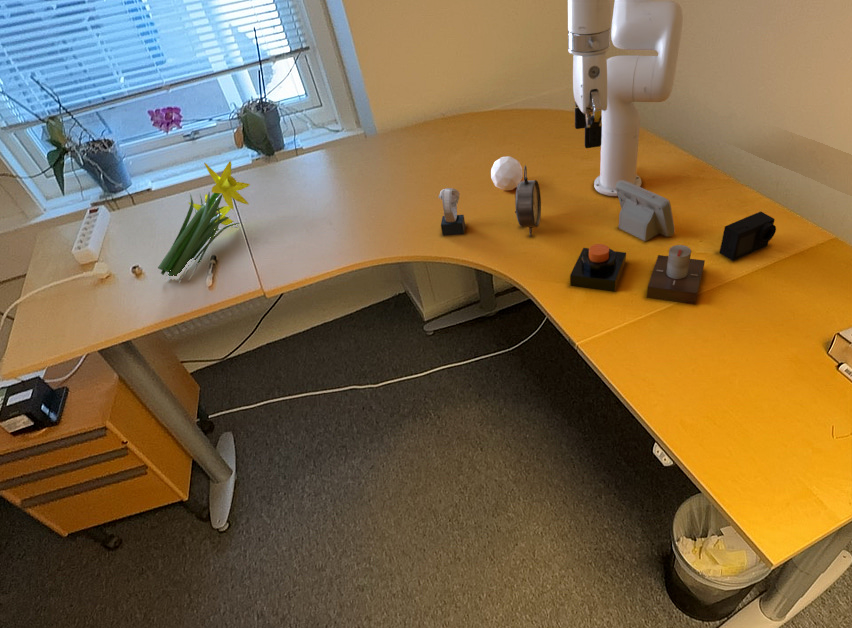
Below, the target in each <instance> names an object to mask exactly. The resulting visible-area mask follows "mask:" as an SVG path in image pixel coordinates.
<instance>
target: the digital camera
mask: <svg viewBox="0 0 852 628" xmlns="http://www.w3.org/2000/svg"><path fill="white" fill-rule="evenodd" d="M776 231H777V226H776V225H775V218H774V217H772V216H771V215H769V214H767V213H765V212H763V211H758V212H756V213H753V214H751V215H749V216H746V217H744V218H741V219H739V220H736V221H734V222H731V223H730V224H727V225H725V226H724V229H723V233H722V238H721V243H720V248H719V254H720V255H722V256H723V257H725V258H727V259H728V260H730V261H731V262H734V261H737V260H740V259H741V258H744V257H746V256H748V255H751V254H752V253H755V252H757V251H760V250H762V249H765V248H766V247H768V245H769V242H770V241H771V240H772V239H773V238H774V236H775V235H776Z"/></svg>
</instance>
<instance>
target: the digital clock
mask: <svg viewBox="0 0 852 628" xmlns="http://www.w3.org/2000/svg"><path fill="white" fill-rule="evenodd" d="M616 191H617V194H618V196H617V197H618V201H619V205H620V211H619V214H618V215H619V216H618V229H619V230H622V231H623V232H625V233H628V234H630V235H631V236H633V237H635V238H637V239H639V240H641V241H644V242H648V241H649V240H651V239H652V238H653V239H654V237H656V236H658V235H662V236H663V237H673V236H675V232H676V231H675V230H676V229H675V222H674V217H673V210H672V205H671V201H670V200H669V198H666V197H664V196H662V195H660V194H657V193H655V192H653V191H650V190H648V189H645V188H643V187H642V186H641V187H639V186H636V185H634V184H632V183H629V182H627V181H624V180H622V181H618V182H617V184H616Z"/></svg>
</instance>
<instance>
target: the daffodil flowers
mask: <svg viewBox="0 0 852 628" xmlns="http://www.w3.org/2000/svg"><path fill="white" fill-rule="evenodd" d="M203 165H204V167H205V168H206V170H207V172H208V173H209V175H210V177H211V178H212V180H213V182H214V185H213V186H212V188H211V191H208V193H205V194H204V202H205V203H203V198H202V195H201V194H199V197H200V204H198V203H194V201H193V200H194V199H193V196H192V193H191V192H189V196H190V202H189V201H188V204H189V208H188V211H187V213H186V216H185V218H184V221H183V223H182V226H181V227H180V230H179V232H178V234H177V236H176V238H175V239H174V241H173V243H172V245H171V247H170V249H169V251H168V252H167V253H166V255H165V256H164V257H163V259H162V260H161V262H160V264H159V265H158V266H157V269H158V270H161V271H160V274H161V275H162V276H164V275H165V274H166V273H167V274H168V272H169V274H168V275H169V276H173V275H174V276H177V274H178V273H180V272H181V271H182V269H183V268H184V267H185V265H186V264H187V262H188V261H189V260H190V259H192V258H194V259H193V260H196V259H197V260H198V261H197V260H196V261H197V263H199V262H200V263H201V261H202V259H203V257H204V255H205V254H206V251H207V250H208V247H209V246H210V245H211V243H213V241H214V240H215V239H216V238H217V237H218V236H219V235H220V234H221V233H222V232H224V231H225V230H226V229H228V228H231V227H230V226H233V225H236V224H237V225H239V224H240V222H235V223H234V224H230V223H232V222H234V220H232V219H231V218H230V216H226V215H227V214H228V213H229V212H230V210H234V202H233V200H235V201H236V202H238V203H240V204H243V205H244V204H245V205H249V204H250V203H249V202H248V201H247V200H246V198H244V197H243V196H242V195H241V193H239V191H241V190H244V189H246V188H248V187H249V186H250V185H251V184H250V183H248V182H241V181H237V180H236V178H234V176H232V161H231V160H230V161H228V163H227V164H226V165H225V167H224V168H223V171H222V173H221V174H220V175H219V174H218V173H216V171H214V169H212V168H211V167H210V166H209V165H208V163H206V162H203ZM210 192H211V193H212V195H210V194H211V193H210ZM222 198H223V200H224V202H225V203H226V205H224V206H220V203H221V201H222ZM219 206H220V207H219ZM193 211H195V214H194V216H193V217H192V214H193ZM191 217H192V218H191ZM190 219H191V220H190ZM228 224H230V225H228ZM220 225H223V227H222V228H221V227H220V228H219V226H220ZM226 225H228V226H226ZM214 229H215V230H214ZM216 231H217V232H216ZM215 233H216V234H215ZM214 235H215V236H214ZM210 237H211V238H210ZM206 243H207V244H206ZM205 244H206V245H205ZM200 254H201V255H200ZM200 260H201V261H200ZM200 263H199V264H200ZM170 270H171V271H170Z"/></svg>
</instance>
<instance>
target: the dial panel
mask: <svg viewBox="0 0 852 628" xmlns="http://www.w3.org/2000/svg"><path fill="white" fill-rule="evenodd" d="M705 261H706V260H704V259H697V258H690V262H689V268H688V274H687V276H686V277H684V278H682V279H673V278H670V277H669V276H668V275H667V274H666V270H667V263H668V255H662V254H658V255H657V257H656V261H655V263H654V267H653V269H652V273H651V275H650V279H649V281H648V285H647V290H646V299H653V300H659V301H666V302H671V303H672V302H673V303H680V304H686V305H696V302H697V298H698V294H699V290H700V285H701V282H702V281H701V280H702V276H703V272H704V268H705Z"/></svg>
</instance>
